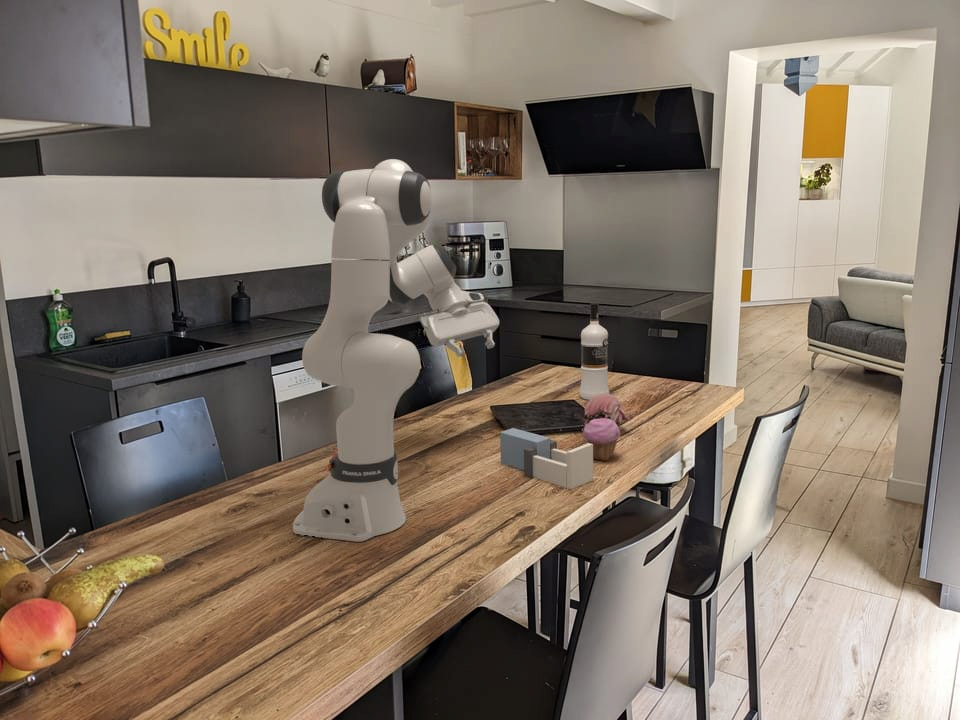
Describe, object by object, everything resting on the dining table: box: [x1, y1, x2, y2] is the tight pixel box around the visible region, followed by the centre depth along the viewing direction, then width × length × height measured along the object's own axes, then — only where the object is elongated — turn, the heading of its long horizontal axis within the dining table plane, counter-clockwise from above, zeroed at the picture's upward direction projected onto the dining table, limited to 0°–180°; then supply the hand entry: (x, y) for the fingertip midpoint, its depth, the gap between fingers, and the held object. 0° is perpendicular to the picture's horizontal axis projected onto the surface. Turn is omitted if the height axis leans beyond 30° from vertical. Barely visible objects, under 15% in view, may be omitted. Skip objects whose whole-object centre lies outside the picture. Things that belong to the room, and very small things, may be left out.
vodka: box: [579, 302, 610, 401], centre depth 244 cm, size 9×9×30 cm
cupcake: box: [582, 418, 621, 462], centre depth 191 cm, size 9×9×10 cm
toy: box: [581, 393, 632, 427], centre depth 210 cm, size 12×11×15 cm
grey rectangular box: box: [499, 427, 551, 471], centre depth 186 cm, size 12×4×8 cm, turn 44°
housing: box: [523, 439, 594, 490], centre depth 179 cm, size 13×9×8 cm
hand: (476, 350), depth 194 cm, fingers open, 8 cm apart
